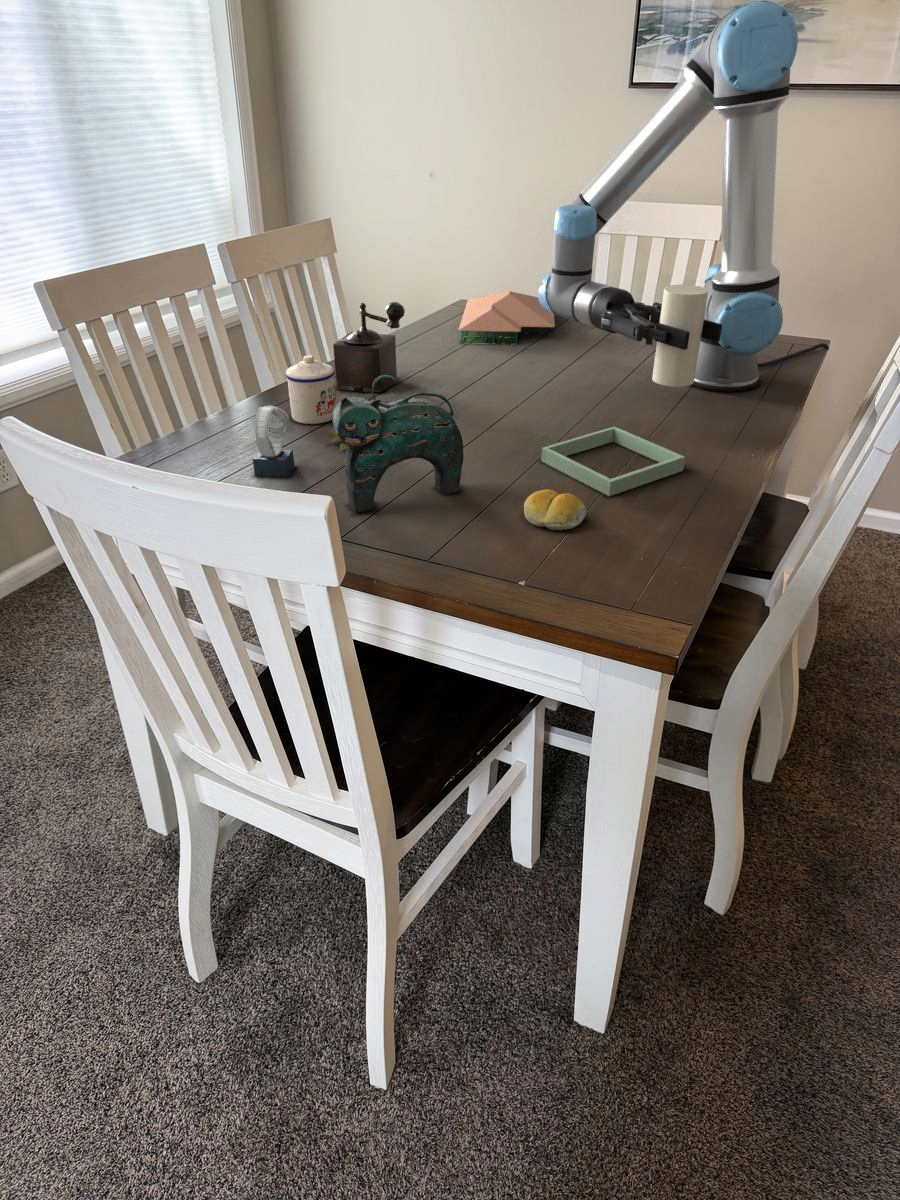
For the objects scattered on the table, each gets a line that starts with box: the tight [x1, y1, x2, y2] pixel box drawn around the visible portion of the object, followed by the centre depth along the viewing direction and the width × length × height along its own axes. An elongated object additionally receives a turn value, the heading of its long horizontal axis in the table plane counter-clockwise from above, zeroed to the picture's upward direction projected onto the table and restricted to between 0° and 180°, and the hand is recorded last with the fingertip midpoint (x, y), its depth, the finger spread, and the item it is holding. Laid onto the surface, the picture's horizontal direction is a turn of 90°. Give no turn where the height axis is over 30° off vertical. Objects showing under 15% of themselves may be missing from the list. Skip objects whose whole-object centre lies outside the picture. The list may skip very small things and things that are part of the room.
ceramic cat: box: [332, 375, 465, 514], centre depth 124 cm, size 20×6×20 cm, turn 114°
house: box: [457, 290, 555, 345], centre depth 210 cm, size 23×33×8 cm
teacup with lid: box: [285, 354, 337, 425], centre depth 157 cm, size 12×9×12 cm
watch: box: [252, 405, 296, 479], centre depth 135 cm, size 6×8×11 cm
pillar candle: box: [651, 284, 708, 388], centre depth 138 cm, size 7×7×15 cm
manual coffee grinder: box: [332, 301, 406, 393], centre depth 170 cm, size 16×11×18 cm
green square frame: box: [541, 426, 686, 497], centre depth 138 cm, size 17×17×2 cm
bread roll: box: [523, 489, 587, 531], centre depth 122 cm, size 8×9×4 cm
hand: (703, 337), depth 134 cm, fingers closed on pillar candle, 7 cm apart
